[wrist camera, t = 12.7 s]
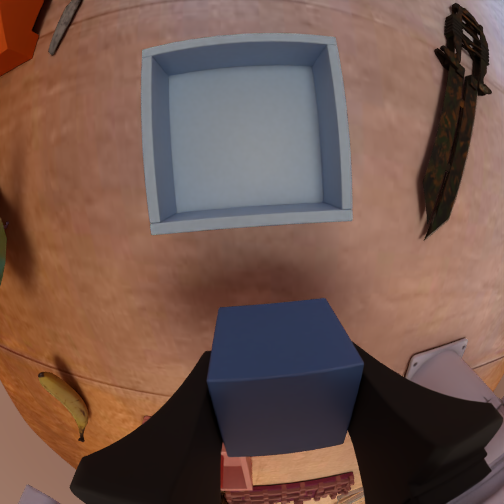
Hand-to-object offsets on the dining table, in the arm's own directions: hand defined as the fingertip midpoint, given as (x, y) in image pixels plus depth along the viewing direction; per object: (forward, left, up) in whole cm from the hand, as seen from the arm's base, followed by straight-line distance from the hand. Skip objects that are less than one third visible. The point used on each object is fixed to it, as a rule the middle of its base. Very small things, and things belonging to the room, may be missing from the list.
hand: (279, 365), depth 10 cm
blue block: (0, 0, -1) cm, 1 cm away
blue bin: (+10, +1, -8) cm, 13 cm away
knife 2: (+14, -17, -9) cm, 24 cm away
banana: (-12, +21, -9) cm, 25 cm away
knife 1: (+28, +15, -8) cm, 33 cm away
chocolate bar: (-36, -2, -8) cm, 37 cm away
